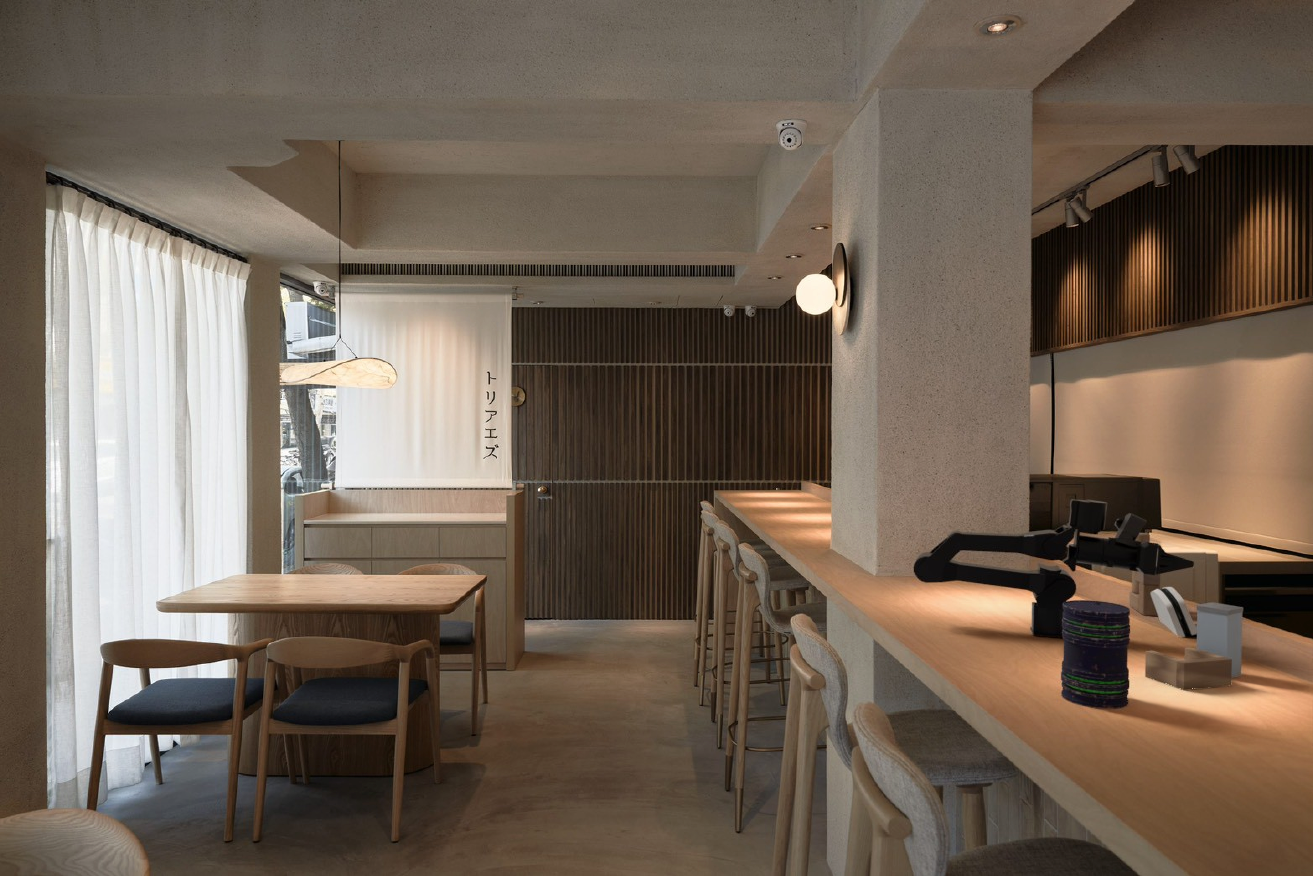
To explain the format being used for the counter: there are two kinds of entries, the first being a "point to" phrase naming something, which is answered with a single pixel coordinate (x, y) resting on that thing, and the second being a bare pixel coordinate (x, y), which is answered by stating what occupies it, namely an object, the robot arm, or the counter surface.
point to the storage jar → (1095, 654)
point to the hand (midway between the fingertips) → (1187, 563)
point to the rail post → (1221, 632)
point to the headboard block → (1189, 669)
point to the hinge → (1173, 611)
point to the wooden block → (1144, 587)
